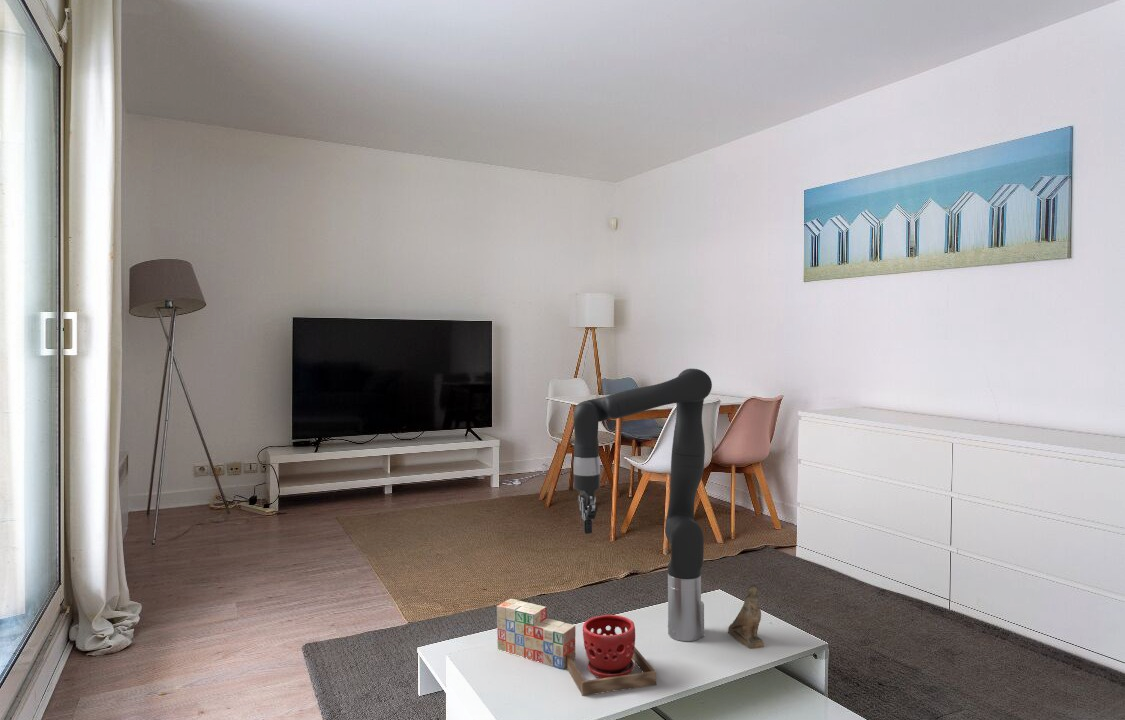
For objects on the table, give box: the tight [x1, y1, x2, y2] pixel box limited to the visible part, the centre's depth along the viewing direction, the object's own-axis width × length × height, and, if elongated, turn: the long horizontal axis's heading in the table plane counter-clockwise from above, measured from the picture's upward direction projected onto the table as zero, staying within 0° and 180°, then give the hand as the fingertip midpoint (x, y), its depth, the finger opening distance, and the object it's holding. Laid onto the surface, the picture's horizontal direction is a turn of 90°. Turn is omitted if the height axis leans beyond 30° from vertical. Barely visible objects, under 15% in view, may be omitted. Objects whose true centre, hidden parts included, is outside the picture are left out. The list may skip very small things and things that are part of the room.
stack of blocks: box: [496, 598, 576, 670], centre depth 175 cm, size 21×6×12 cm, turn 57°
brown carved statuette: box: [727, 585, 764, 650], centre depth 182 cm, size 12×6×18 cm, turn 14°
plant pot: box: [582, 614, 636, 679], centre depth 166 cm, size 13×13×12 cm
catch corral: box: [565, 646, 657, 697], centre depth 163 cm, size 19×14×3 cm
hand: (587, 532), depth 187 cm, fingers closed
